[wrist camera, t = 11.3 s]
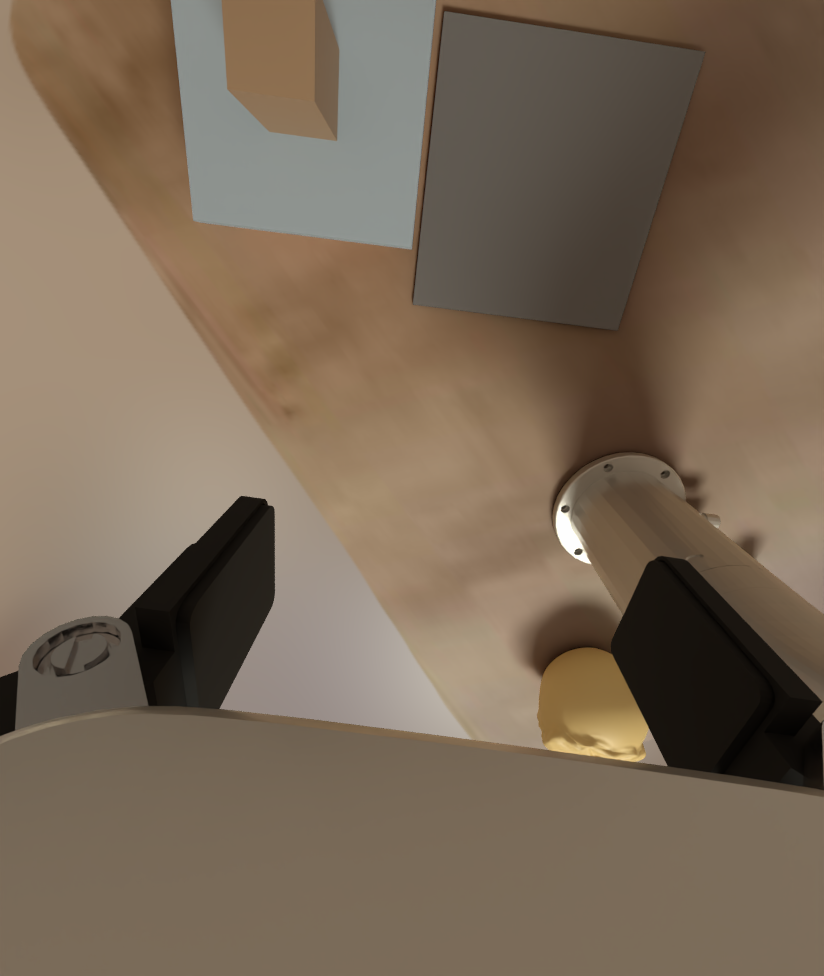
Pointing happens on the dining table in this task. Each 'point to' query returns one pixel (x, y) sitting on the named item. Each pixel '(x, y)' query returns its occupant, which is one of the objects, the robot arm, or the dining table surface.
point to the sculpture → (590, 708)
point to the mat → (545, 168)
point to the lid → (305, 114)
